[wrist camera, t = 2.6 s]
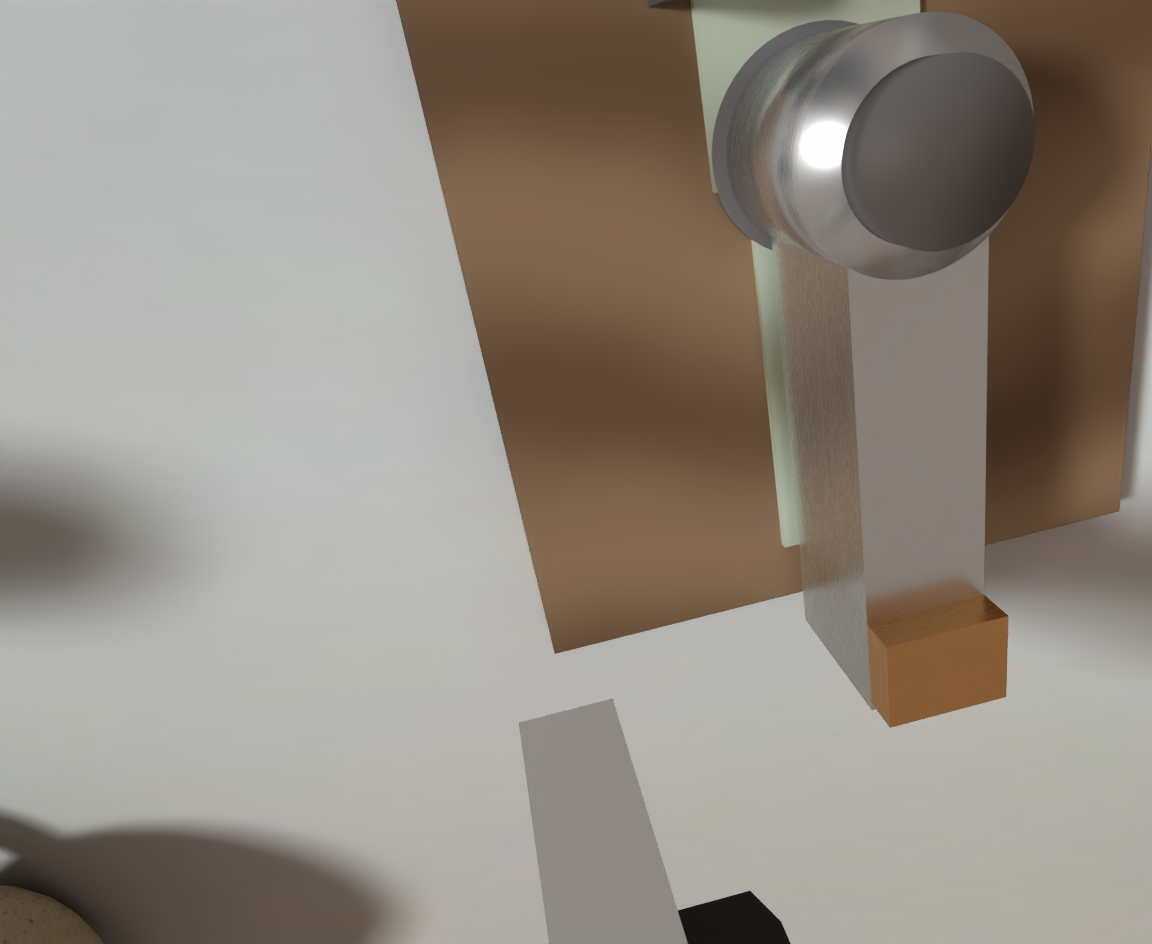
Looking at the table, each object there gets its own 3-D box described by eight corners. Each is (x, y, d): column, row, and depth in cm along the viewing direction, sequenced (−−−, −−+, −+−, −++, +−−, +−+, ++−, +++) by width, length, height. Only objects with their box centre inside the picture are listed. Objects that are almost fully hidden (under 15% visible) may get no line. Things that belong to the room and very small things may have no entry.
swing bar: (715, 54, 16) (808, 35, 12) (918, 11, 16) (1074, -20, 12) (776, 627, 21) (854, 744, 17) (929, 588, 21) (1040, 695, 18)
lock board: (214, -750, 12) (42, -1434, 7) (1191, -885, 13) (1720, -1575, 8) (549, 631, 22) (588, 800, 17) (1091, 495, 23) (1293, 613, 18)
